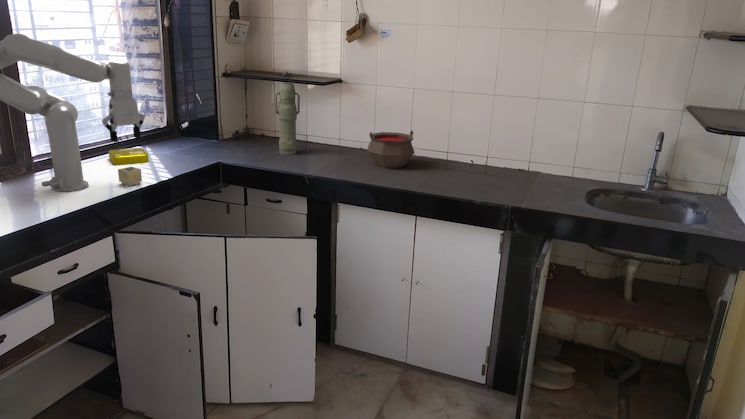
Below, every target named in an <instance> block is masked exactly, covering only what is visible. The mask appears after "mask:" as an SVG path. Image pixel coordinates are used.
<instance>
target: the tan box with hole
mask: <svg viewBox="0 0 745 419" xmlns="http://www.w3.org/2000/svg"><path fill="white" fill-rule="evenodd" d="M127 168H132V170H129V171H128V170H127ZM117 174H118V182H119V183H121V182H122V183H125V184H132V183H137V182H140V183H141V182H142V181H143V177H142V169H141V168H138V167H135V166H128V167H124V168H123V167H122V168H118V169H117Z"/></svg>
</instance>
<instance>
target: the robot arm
mask: <svg viewBox="0 0 745 419" xmlns="http://www.w3.org/2000/svg"><path fill="white" fill-rule="evenodd" d="M18 62H24V63H27V64H31V65H33V66H38V67H41V68H45V69H48V70H52V71H54V72H57V73H60V74H63V75H65V76H70V77H73V78H76V79H80V80H83V81H86V82H91V83H100V82H101V83H102V81H105V80H109V92H107V96H108V97H110V98H109V102H108V115H107V116H106V117H104V118H103V119H101V122H102V124H103V126H104V128H106V129H107V130H108V131H109V138H110V140H111V142H114V143H115V142H116V143H117V142H118V132H117V131H116V130H117V128H118V127H124V126H131V125H132V126H133V128H132V130H133V137H134V138H137V139H141V128H142V125H143V123H144V121H145V119H146V118H145V117H146V116H145V115H144V114H142V113H141V112H140V113H139V108H138V104H137V100H136V98H135V97H133V86H132V74H131V65H130V63H129V62H128V61H126V60H104V59H103V60H102V59H97V58H96V59H88V58H86V57H80V56H78V55H75V54H72V53H70V52H68V51H65V50H64V49H62V48H61V47H59V46H57V45H54V44H50V43H46V42H43V41H39V40H36V39H33V38H30V36H28V35H25V34H22V33H12V34H8V35H7V36H5V37H4V38H3V39H2V40H0V70H2V69H4V68H6V67H8V66H12V65H13V64H15V63H18ZM0 101H2V102H3V103H5V104H7V105H9V106H11V107H13V108H14V109H17V110H19V111H21V112H22V113H23V114H24V113H25V114H26V115H37V114H38V115H40V116H42V117H44V122H45V128H46V131H47V135H48V142H49V148H50V154H51V159H52V160H51V162H52V167H53V174H54V176H51V179H49V180H44V181H41V186H42V187H43V188H44V187H45V188H46V187H51V190H53V191H55V192H56V191H57V192H74V191H76V192H77V191H80V190H83V189H86V188H88V187H89V182H88V181H87V180H84V175H83V174H84V173H83V165H82V159H81V152H80V144H79V137H78V132H77V124H76V121H77V120H78V117H79V113H78V110H77V108H76V106H75V105H74V104H72V103H71V102H69V101H68V100H66V99H64V98H62V97H60V96H59V95H56V94H54V93H53V92H51V91H49V90H47V89H45V88H43V87H41V86H37V85H29V86H27V85H25V84H22V83H21V82H18V81H16V80H15V79H13V78H11V77H9V76H8V75H4V74H2V73H0ZM109 123H110V124H109Z"/></svg>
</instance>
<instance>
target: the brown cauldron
mask: <svg viewBox="0 0 745 419" xmlns="http://www.w3.org/2000/svg"><path fill="white" fill-rule="evenodd" d="M413 135H414V131H413V130H412V129H411V130H410V131H409V134H408V133H407V134H406V133H403V132H392V131H391V132H388V131H387V132H385V131H380V132H375V133H373V132H372V131H370V132H369V134H368V136H369V138H370V141H369V143H368V146H367V153H368V154H369V156H370V158H371V159H372V161H373V163H375V165H376V166H378V167H381V168H385V169H387V168H389V169H390V168H391V169H399V168H402V167H405V166H406V165H407V163H408V162H409V161H410V159H411V158H412V157H413V156H414V155H415V154H416V153H415V149H414V147H413V143H412V141H413V140H414V136H413Z"/></svg>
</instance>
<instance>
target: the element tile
mask: <svg viewBox="0 0 745 419" xmlns="http://www.w3.org/2000/svg"><path fill="white" fill-rule="evenodd" d="M108 156H109V158H108V159H109V161H110V162H111V163H112V165H113V166H128V165H137V164H138V163H139V164H147V163H149V153H148V152H146V150H145V149H144V148H142V147H135V148H122V149H121V148H120V149H110V150H109V151H108Z"/></svg>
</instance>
